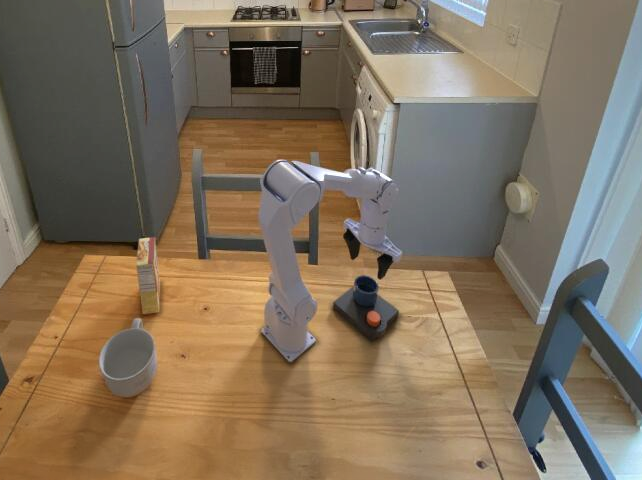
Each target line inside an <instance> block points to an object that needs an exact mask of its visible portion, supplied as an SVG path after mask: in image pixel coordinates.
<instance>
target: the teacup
mask: <svg viewBox="0 0 642 480" xmlns="http://www.w3.org/2000/svg"><path fill="white" fill-rule="evenodd" d="M98 368H99V370H100V372H101V374H102V378H103V381H104V382H105V385H106V387H107V389H108V390H109V391H110V392H111V393H112V394H113V395H114V396H116V397H120V398H130V397H131V398H132V397H134V396H137V395H140V394H141V393H142V392H144V391H145V390H146V389H147V388H148V387H150V385H151V384H152V382H153V380H154V378H155V377H156V373H157V370H158V355H157V350H156V342H155V339H154V337H153V335H152V334H151V333H150V332H149V331H148V330H145V329H143V320H142V319H141V318H140V317H139V318H137V317H136V318H134V319H133V320H132V323H131V328H126V329H123V330H121V331H118V332H117V333H115V334H113V335H112V336H111V337H110V338H109V339H108V340H107V341H106V342H105V344H104V345H103V346H102V348H101V350H100V353H99V356H98Z"/></svg>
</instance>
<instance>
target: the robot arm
mask: <svg viewBox="0 0 642 480" xmlns="http://www.w3.org/2000/svg"><path fill="white" fill-rule="evenodd" d="M290 162H291V163H292V164H291V163H290ZM290 162H289V161H288V160H286V159H281V158H280V159H277V160H275V161H273V162H272V163H270V164H269V165H268V166H267V168H266V169H265V171H264V173H263V174H262V176H261V177H260V178H259V182H260V188H261V195H260V196H261V197H260V203H259V209H258V214H257V222H258V226H259V229H260V233H261V236H262V240H263V244H264V247H265V250H266V255H267V258H268V262H269V264H270V268H271V273H270V274H269V275H268V279H269V280H268V281H269V284H268V288H267V290H268V293H269V295H270V297H269V298H268V300H267V301H266V303H265V306H264V314H263V315H264V317H263V318H264V319H263V320H264V321H263V322H264V323H263V327H262V328H261V330H260V331H261V334H262V335H263V336H264V337H265V338H266V339H267V340H268V341H269V342H270V343H271V345H273V346H274V348H275V349H276V350H277V351H278V352H279V353H280V354H281V355H282V356H283V358H285V360H287V362H289V363H292V362H293V361H295V360H296V359H298V357H300V356H301V355H302V354H303V353H304V352H305V351H307V350H308V349H309V348H310V347H311V346H312V345H313V344H315V343H316V342H317V341H316V338H315V337H314V336H313V335H312V333H310V332H309V331H308V330H309V323H310V322H311V321H312V320H313V319H314V317H315V316H316V314H317V312H318V311H317V310H318V302H317V301H316V299H315V298H313V297H312V294H311V292H310V290H309V289H308V286H306V283H305V282H304V280H303V279H302V274H301V270H300V266H299V262H298V257H297V252H296V248H295V244H294V239H293V236H292V231H291V229H295V228H296V227H297V225H299V224H300V222H301V221H302V220H303V219H304V218H305V217H306V216H307V215H309V213H310V212H311V211H312V210H313V208H315V206H316V205H317V203H321V201H322V200H323V199H322V198H323V196H324V193H325V191H340V192H342V193H343V195H344V196H346V197H348V198H354V199H362V202H361V209H360V210H361V211H360V220H359V222H357V221H355V220H353V219H351V218H347V219H346V220H344V221H343V225H342V228H343V229H344V230H346V231H345V232H344V233H343V235H342V238H343V241H345V243H346V245H347V249H348V252H349V257H350V259H351V261H355V259H357V258H358V257H359V255H360V249H361V245H363V246H364V247H367V248H368V249H372V250H375V251H377V252H380V253H382V254H380V255H379V256H378V257H377V258H376V262H377V279H378V280H380V281H381V280H382V279H384V278H385V277H386V275H387V273H388V271H389V269H390V267H391V266H392V264H393V263H395V264H397V263H398V262H400V261H401V260H402V257H403V251H402V250H400V249H399V248H397V247H396V246H395V244H394V243H392V241H391V240H390V239H389V238H388V237H387V236H386V234H387V226H388V219H389V213H390V210H391V209H392V207H393V202H394V201H395V200H396V197H397V196H398V193H399V190H400V189H399V188H398V186H397V184H396V182H395V180H393V179H391V178H390V177H389V176H387V175H385V174H384V173H382V172H381V171H378V170H377V169H375V168H373V167H369V168H367V169H366V168H364V167H362V166H358V167H357V169H356V168H348V169H346V170H344V171H343V172H342V171H338V170H337V171H336V170H333V169H329V168H324V167H320V166H316V165H312V164H308V163H305V162H301V161H298V160H290Z"/></svg>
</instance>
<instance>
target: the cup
mask: <svg viewBox="0 0 642 480" xmlns="http://www.w3.org/2000/svg"><path fill="white" fill-rule="evenodd" d="M353 286H354V289H353V297H354V300H355V301H356V302H357V303H358V304H360V305H362V306H365V307H370V306H373V305H374V304H375V303H376V301H377V295H379V289H380V288H379V287H380V286H379V283H378V281H377V280H376V279H374V278H373V277H371V276H369V275H365V274H363V275H358V276H357V277H356V278H355V279H354V282H353Z"/></svg>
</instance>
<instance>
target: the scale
mask: <svg viewBox="0 0 642 480" xmlns="http://www.w3.org/2000/svg"><path fill="white" fill-rule="evenodd" d="M353 289H354V285H353V286H352V287H351V288H349V289H348V290H347V291H345V292H344V293H343V294H341V296H339V297H338V298H337V299H336V300H334V301H333V303H332V308H333V310H335V311H336V312H337V313H339V315H340V316H342V317H343V318H344V319H345V320H346V321H348V322H349V323H350V324H351V325H352V326H354V327H355V328H356V329H357V330H358V331H359V332H360V333H362V334H363V335H364V336H365V337H366V338H367V339H369V340H370V341H371V342H373V341H374V340H375V339H376V338H381V337H383V336H384V335H385V334H386V332H387V327H389V326H390V325H391V324H392V323H393V322H394V321H395V320H396V319H397V318H398V317H399V314H400V310H399V309H398V308H396V307H395V306H394V305H392V304H391V303H390V302H388V300H386V299H384V298H383V297H382V296H380V295H379V294H378V295H377V301H376V303H375V304H374V305H373V306H370V307H365V306H362V305H360V304H358V303H357V302H356V301H355V300H354V297H353ZM370 311H374V312H377V313H378V314H379V315H380V324H379V326H377V327H372V326H370V325H369V324H368V323H367V314H368V312H370Z"/></svg>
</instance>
